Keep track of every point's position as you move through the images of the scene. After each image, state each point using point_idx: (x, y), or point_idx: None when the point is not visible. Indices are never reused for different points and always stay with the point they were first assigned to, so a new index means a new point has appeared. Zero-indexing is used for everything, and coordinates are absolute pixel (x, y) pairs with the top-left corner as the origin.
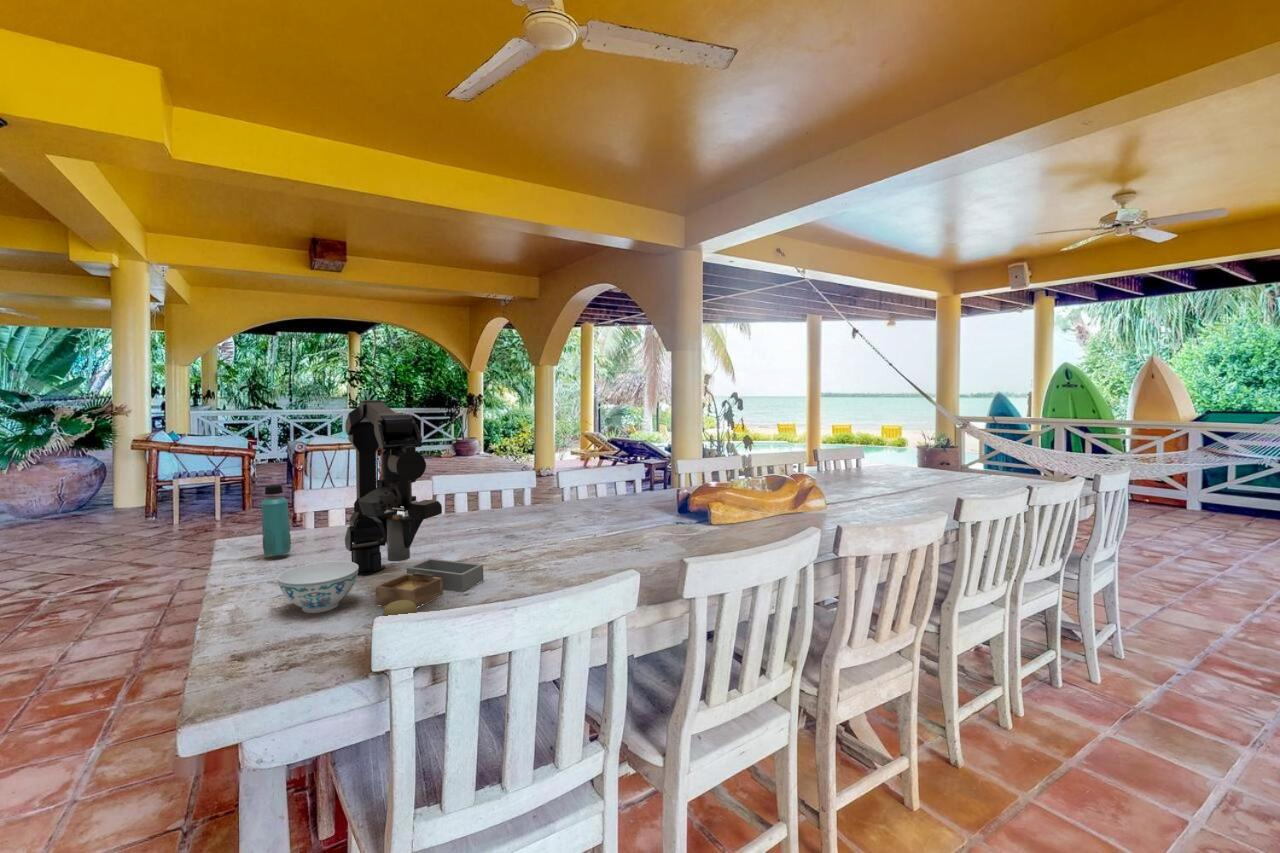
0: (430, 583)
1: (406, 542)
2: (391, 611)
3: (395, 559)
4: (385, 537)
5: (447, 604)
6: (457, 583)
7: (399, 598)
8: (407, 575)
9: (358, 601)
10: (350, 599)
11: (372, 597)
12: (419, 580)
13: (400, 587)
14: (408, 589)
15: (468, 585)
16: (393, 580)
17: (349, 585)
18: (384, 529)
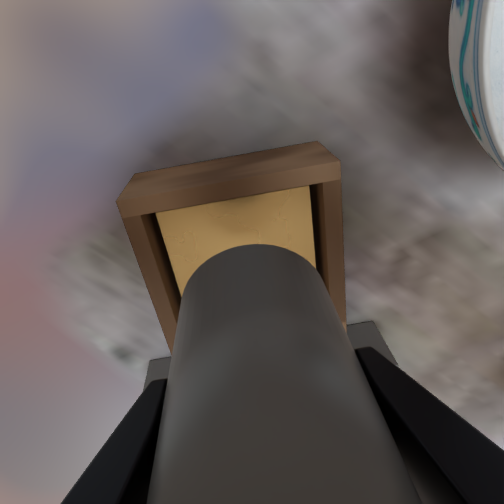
0: (154, 307)
1: (127, 423)
2: None
3: (210, 264)
4: (412, 399)
5: (90, 276)
6: (166, 377)
7: (196, 175)
8: None
9: (420, 135)
10: (468, 133)
11: (398, 190)
12: None
13: (275, 243)
14: (222, 243)
15: None
16: (332, 257)
17: (451, 62)
18: (469, 497)
